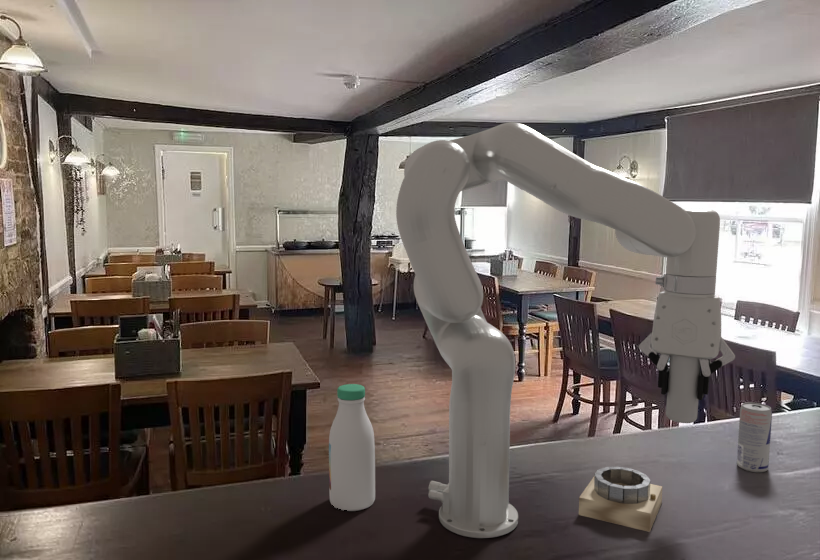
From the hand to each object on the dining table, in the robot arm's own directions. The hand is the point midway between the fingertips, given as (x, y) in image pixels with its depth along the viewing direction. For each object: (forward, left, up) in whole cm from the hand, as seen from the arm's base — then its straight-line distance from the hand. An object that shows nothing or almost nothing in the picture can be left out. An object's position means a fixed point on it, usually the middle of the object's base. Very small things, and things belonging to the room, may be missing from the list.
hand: (682, 394), depth 107 cm
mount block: (-8, -7, -19) cm, 22 cm away
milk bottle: (-48, -27, -19) cm, 58 cm away
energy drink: (+10, +23, -19) cm, 32 cm away
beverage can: (0, 0, -5) cm, 5 cm away
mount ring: (-8, -7, -16) cm, 19 cm away
